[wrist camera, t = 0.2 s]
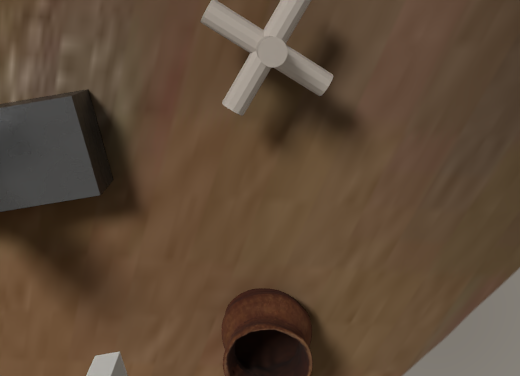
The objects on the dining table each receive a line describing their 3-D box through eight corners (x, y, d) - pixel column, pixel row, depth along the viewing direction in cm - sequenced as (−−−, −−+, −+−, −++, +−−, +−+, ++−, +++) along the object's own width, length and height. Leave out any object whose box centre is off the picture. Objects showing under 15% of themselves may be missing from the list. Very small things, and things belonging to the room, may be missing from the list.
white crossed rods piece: (181, 68, 38) (162, 81, 29) (243, -47, 36) (243, -75, 26) (284, 129, 40) (297, 160, 31) (349, 24, 38) (385, 23, 28)
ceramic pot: (287, 417, 51) (294, 474, 44) (144, 344, 47) (127, 394, 41) (388, 293, 47) (413, 335, 40) (239, 203, 43) (238, 232, 36)
